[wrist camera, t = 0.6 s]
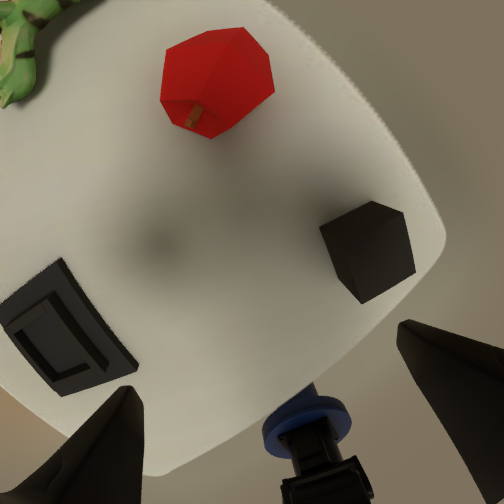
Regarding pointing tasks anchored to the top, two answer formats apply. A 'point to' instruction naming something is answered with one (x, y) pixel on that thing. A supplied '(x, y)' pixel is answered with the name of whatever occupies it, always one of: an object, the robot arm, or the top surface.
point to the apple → (215, 80)
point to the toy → (22, 43)
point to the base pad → (63, 333)
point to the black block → (369, 249)
